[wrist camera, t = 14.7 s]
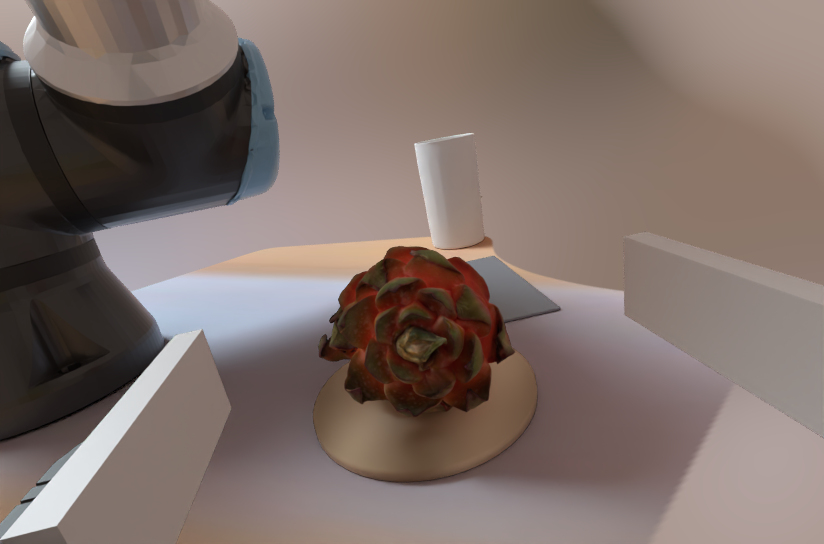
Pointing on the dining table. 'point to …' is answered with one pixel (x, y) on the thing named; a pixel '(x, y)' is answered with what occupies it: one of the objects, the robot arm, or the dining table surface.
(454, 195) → the mug
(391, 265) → the dragon fruit
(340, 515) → the dining table surface
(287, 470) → the dining table surface
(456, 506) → the dining table surface
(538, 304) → the grey square tile
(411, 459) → the coaster
